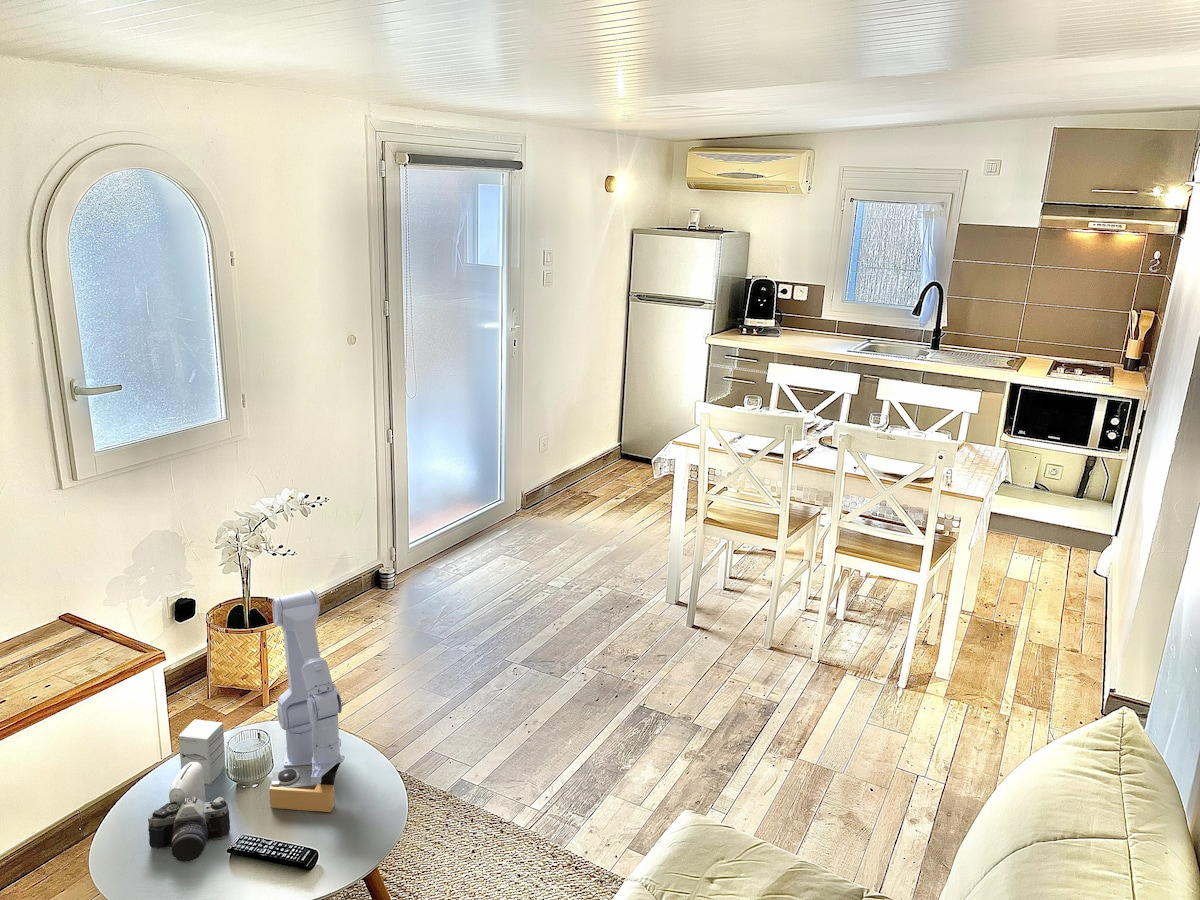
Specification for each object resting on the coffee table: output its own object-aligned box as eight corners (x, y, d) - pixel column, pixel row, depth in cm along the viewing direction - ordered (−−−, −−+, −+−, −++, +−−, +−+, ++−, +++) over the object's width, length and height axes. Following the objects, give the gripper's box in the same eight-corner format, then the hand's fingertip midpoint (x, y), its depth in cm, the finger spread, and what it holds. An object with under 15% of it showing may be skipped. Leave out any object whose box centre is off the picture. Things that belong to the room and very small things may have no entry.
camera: (144, 873, 180) (140, 832, 177) (152, 839, 189) (148, 799, 186) (228, 859, 185) (225, 818, 182) (231, 826, 194) (228, 787, 191)
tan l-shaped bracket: (275, 799, 202) (274, 781, 201) (334, 803, 202) (334, 785, 201) (270, 807, 200) (269, 788, 198) (330, 812, 199) (329, 793, 198)
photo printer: (189, 835, 191) (185, 785, 187) (169, 834, 190) (165, 785, 187) (208, 804, 200) (205, 756, 197) (189, 803, 200) (185, 756, 197)
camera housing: (273, 788, 207) (272, 768, 205) (318, 784, 209) (317, 764, 207) (270, 806, 201) (269, 785, 199) (316, 801, 203) (315, 781, 202)
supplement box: (180, 782, 207) (176, 735, 204) (198, 763, 214) (194, 717, 211) (210, 786, 207) (206, 739, 203) (227, 767, 214) (223, 721, 210)
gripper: (332, 760, 192) (334, 813, 195) (353, 722, 206) (354, 772, 209) (300, 758, 192) (303, 811, 196) (323, 720, 206) (325, 770, 210)
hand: (327, 791), depth 202 cm, fingers closed
